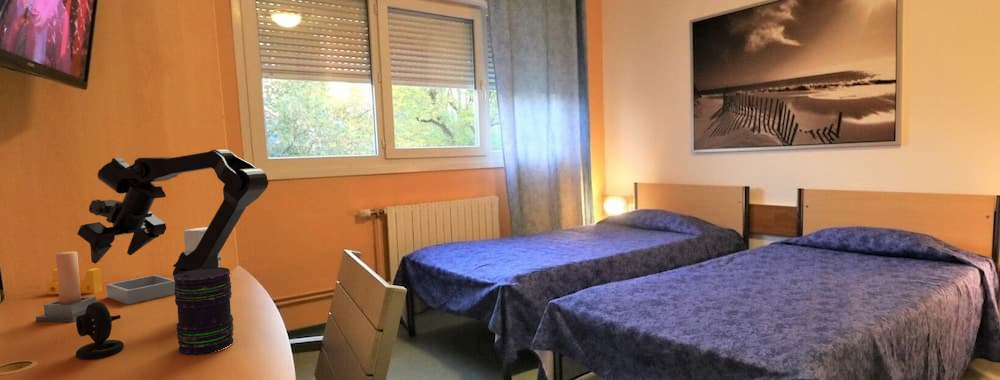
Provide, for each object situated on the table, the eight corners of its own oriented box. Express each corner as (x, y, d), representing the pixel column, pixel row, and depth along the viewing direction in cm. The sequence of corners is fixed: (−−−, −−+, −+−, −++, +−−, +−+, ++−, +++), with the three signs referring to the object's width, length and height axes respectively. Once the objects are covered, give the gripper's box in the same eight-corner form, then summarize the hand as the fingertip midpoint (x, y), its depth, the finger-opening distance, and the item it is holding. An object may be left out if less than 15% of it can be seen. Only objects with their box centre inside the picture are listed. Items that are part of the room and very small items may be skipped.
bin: (177, 293, 144) (176, 280, 144) (127, 304, 134) (126, 291, 134) (156, 286, 151) (155, 274, 150) (107, 297, 141) (106, 284, 140)
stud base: (104, 309, 130) (103, 295, 130) (72, 321, 121) (71, 307, 121) (70, 308, 131) (69, 295, 130) (36, 321, 122) (34, 306, 121)
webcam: (69, 354, 102) (65, 304, 102) (114, 342, 109) (111, 294, 108) (84, 363, 98) (80, 311, 97) (130, 350, 104) (127, 300, 103)
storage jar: (227, 333, 113) (223, 264, 112) (240, 346, 106) (236, 273, 104) (173, 345, 107) (168, 272, 105) (183, 360, 99) (178, 282, 98)
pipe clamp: (48, 294, 144) (46, 271, 143) (62, 290, 148) (60, 267, 148) (88, 295, 143) (87, 272, 142) (102, 291, 147) (100, 268, 147)
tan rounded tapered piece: (87, 308, 128) (83, 251, 127) (71, 314, 124) (67, 255, 122) (70, 308, 128) (66, 251, 127) (54, 313, 124) (49, 255, 123)
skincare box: (201, 280, 158) (198, 230, 157) (185, 278, 160) (182, 229, 158) (223, 273, 166) (220, 226, 165) (207, 272, 168) (204, 225, 166)
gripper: (145, 183, 135) (122, 233, 138) (72, 189, 117) (47, 247, 120) (178, 206, 133) (154, 257, 136) (109, 216, 115) (83, 274, 118)
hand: (111, 258), depth 128 cm, fingers open, 9 cm apart
